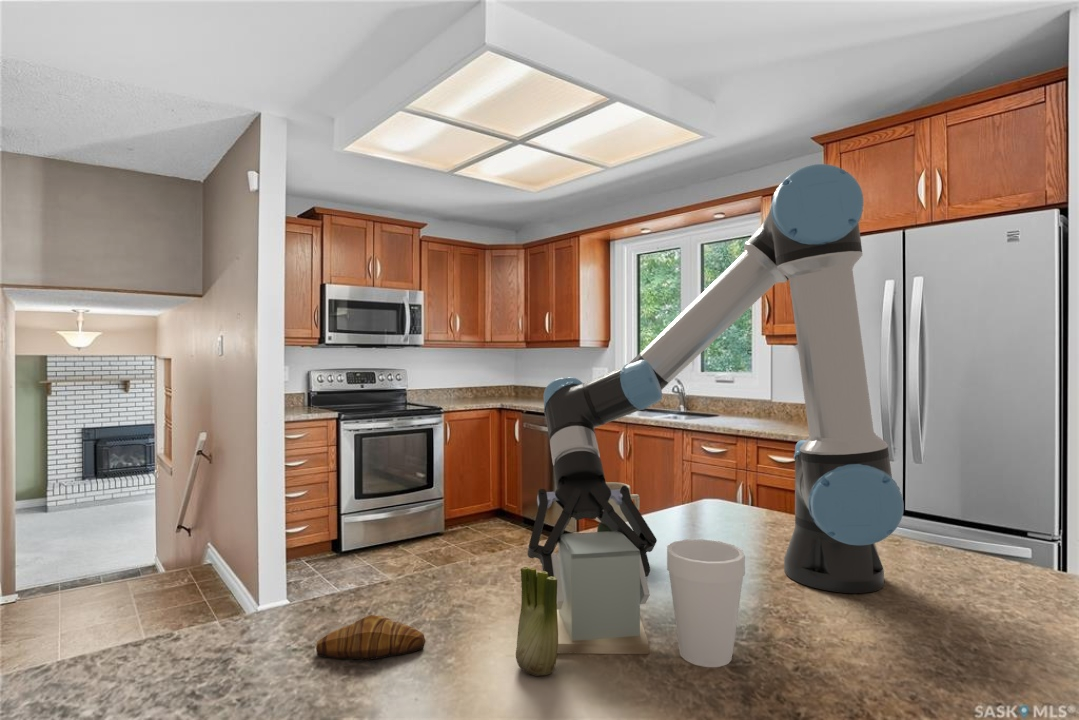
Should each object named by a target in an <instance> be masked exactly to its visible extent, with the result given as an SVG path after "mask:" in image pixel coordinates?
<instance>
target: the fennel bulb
mask: <svg viewBox="0 0 1079 720" xmlns="http://www.w3.org/2000/svg"><path fill="white" fill-rule="evenodd" d="M520 580H521V581H520V583H521V584H520V585H521V602H520V603H521V605H520V611H519V612H520V613H519V618H518V619H519V620H518V626H517V639H516V650H515V660H516V662H517V665H518V667H519V668H520V669H522V671H524V672H526V673H527V674H529V675H532V676H536V677H537V676H547V675H551V674H552V673H553V671H554V669H555V666H556V663H557V659H558V653H557V649H558V618H557V579H556V578H555V577H552V576H551V577H548V573H547V572H543V570H542V571H541V570H539V571H537V569H536V568H534V567H529V566H523V567H521V568H520Z"/></svg>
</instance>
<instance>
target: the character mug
mask: <svg viewBox="0 0 1079 720" xmlns="http://www.w3.org/2000/svg"><path fill="white" fill-rule="evenodd" d="M606 484H607V486H608V487H609V488H610V490H619V489H621V487H622V486H627V487H628V488H629V492H630V497H631V500H632V501H633V500H634V504H635V506H636V507H637V509H638V511H639V512H640V508H641V507H640V495H639V494H637V493H636V494H634V493H633V494H631V493H632V491H631V486H630V484H626V483H622V482H616V481H615V482H611V481H610V482H609V481H608V482H607V481H606ZM608 502H609V503H610V504H611V505H612V507H613V509H614V511H615V512H616V513H617V514H618V515H619V516H620V517H621V518H622V519H623V521H624V522H625V523H626V522H628V521H627V519H626V518H625V516H624V514H623V513H622V511H621V509H620V506H619V505H616V503H615V501H614V500H613V499H609V501H608ZM594 521H596V522H598V526H597V530H596V532H610V531H612V530H611V529H610V528H609V527H608V526H607V525H606V524H603V523H602V522H601V521H600V520H599V519H598V518H597V517H596V519H594Z"/></svg>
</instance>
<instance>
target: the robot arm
mask: <svg viewBox="0 0 1079 720" xmlns="http://www.w3.org/2000/svg"><path fill="white" fill-rule="evenodd" d="M863 211H864V195H863V190H862V188H861V186H860V183H859V182H858V181H857V179H856V177H854V176H853V175H852V174H851V173H850V172H848V171H847V170H845V169H842V167H839V166H836V165H833V164H827V163H821V164H820V163H817V164H810V165H806V166H804V167H801V168H799V169H797V170H795V171H794V172H792V173H790V174H789V175H788V176H787V177H786V178H784V180H783V181H781V183H779V185H778V186H777V188H776V189H775V191H774V193H773V196H772V198H771V205H770V208H769V211H768V213H767V215H766V217H765V219H764V221H763V222H762V223H761V224H760V226H759V228H757V230H756V231H755V232H754V234H753V235H751V237H750V238H749V239H748V240H747V241H746V242H744V243H743V244H744V246H743V252H742V254H740V256H739V257H738V258H737V259H736V260H735V261H734V262H732V263H731V265H729V266H728V267H727V268H726V269H725V270H724V271H723V272H722V273H721V274H720V275H719V276H718V277H717V278H716V279H715V280H714V281H713V282H711V284H710V285H708V287H707V288H705V289H704V291H702V293H700V294H699V295H698V296H697V297H696V298H695V299H694V300H693V301H692V302H691V303H690V304H689V305H688V306H687V307H686V308H685V309H684V310H683V311H682V312H681V313H680V314H679V315H678V316H677V317H676V318H674V319H673V320H672V321H671V323H670V324H668V325H667V326H666V327H665V328H664V329H663V330H662V331H661V332H660V333H659V334H658V335H657V336H656V337H655V338H654V339H653V340H652V341H651V342H650V343H649V344H647V346H646V347H645V348H644V349H643V350H642V351H641V352H639V354H637V355H636V356H635V357H634V358H633V359H632V360H631V361H629V363H627V364H623V366H621V367H618V368H617V369H614V370H612V371H610V372H608V373H606V374H603V375H601V376H598V377H597V378H594V379H593V380H590V381H587V382H583V381H581V380H580V379H578V378H576V377H572V376H568V377H566V378H563V377H560V378H556V379H554V380H552V381H551V382H550V383H549V384H548V385H547V386H546V387H545V389H544V391H543V413H544V417H545V422H546V423H545V424H546V428H547V432H548V434H547V435H548V440H549V441H548V442H549V447H550V453H551V460H552V461H551V462H552V465H553V467H552V469H553V475H554V481H555V488H556V489H555V491H547V490H546V489H545V488H540V489H538V491H537V496H536V497H537V498H536V505H537V513H536V517H535V521H534V524H533V529H532V531H531V535H530V540H529V544H528V549H527V556H528V558H529V559H535V558H536V559H538V560H539V562H540V564H541V566H542V568H541V569H542V571H543V572H547V573H548V577H551V576H552V577H555V578H556V579H557V610H560V609H561V608H562V605H563V602H564V599H563V591H562V584H561V577H560V570H559V563H558V552H556V553H555V552H554V551H555V549H556V547H557V546H558V541H559V537H560V535H561V534H564V532H565V531H566V528H567V526H568V525H569V523H570V521H571V520H572V518H573V519H574V520H575V521H578V520H583V519H588V520H595V519H596V517H597V518H598V519H599V520H600V521H601V522H602V523H603V524H606V525H607V526H608V527H609V528H610V529H611V530H612V531H618V532H621V533H623V534H624V535H625V536H626V537H627V538H628V539H629V540H630V541H631V542H632V543H633V544H634V545H635V546H636V547H637V548H638V549H639V550H640V605H644V604H646V603H647V601H648V599H649V597H651V596H650V595H651V593H650V590H649V585H648V581H647V578H648V577H649V575H650V571H651V567H650V563H649V558H648V554H647V553H651V552H653V550H654V548H655V546H656V544H657V541H658V539H657V537H656V536H655V534H654V532H653V531H652V529H651V528H650V526H649V524H648V523H647V521H646V520H645V519H644V516H642V514H641V512H640V510H639V511H638V509H637V507H636V506H635V502H634V501H633V499H632V500H631V497H630V492H629V488H628V487H627V486H622V487H621V489H619V490H610V488H609V487H608V486H607V484H606V482H607V481H606V477H605V472H604V467H603V464H602V463H603V462H602V459H601V454H600V449H599V445H598V440H597V437H596V436H597V435H596V432H595V428H598V427H600V426H604V425H606V424H607V423H610V422H613V421H615V420H618V419H621V418H624V417H627V416H629V415H631V414H633V413H636V412H639V411H641V410H642V411H643V410H646V409H648V408H650V407H651V406H652V405H655V404H658V403H659V402H660V401H661V400H662V399H663V392H662V391H663V390H664V388H666V386H667V385H669V384H670V382H671V381H673V380H674V379H675V378H676V377H677V376H678V375H679V374H680V373H682V371H683V370H685V369H686V368H687V367H688V366H689V365H690V363H692V362H693V361H694V360H695V359H696V358H697V357H699V355H700V354H701V353H703V352H704V351H705V350H706V349H707V348H709V346H710V345H711V344H713V342H715V341H716V340H717V339H718V337H719V338H720V336H721V335H722V334H723V333H724V332H725V331H726V330H728V328H729V327H731V326H732V325H733V324H734V323H735V322H736V321H737V320H738V319H739V318H740V317H741V316H742V315H744V314H745V313H746V312H747V311H748V310H749V309H750V308H751V307H752V306H753V305H754V304H756V302H758V301H759V299H760V298H762V297H763V296H764V295H765V294H766V293H767V292H768V291H770V289H772V288H773V286H775V284H779V283H780V284H781V283H782V284H783V283H787V282H788V281H789V289H790V296H791V303H792V304H791V305H792V310H793V313H792V314H793V320H794V327H795V329H794V330H795V334H796V344H797V350H798V357H799V359H798V360H799V368H800V374H801V381H802V388H803V389H802V391H803V397H804V405H805V412H806V413H805V414H806V421H807V428H808V438H807V439H801V440H798V441H797V443H796V444H795V447H794V448H795V449H794V455H793V460H794V474H795V475H794V479H795V480H794V515H795V516H794V520H795V521H794V529H793V532H792V535H791V538H790V541H789V544H788V546H787V549H786V552H785V554H784V558H783V561H784V562H783V571H784V573H785V575H786V576H787V577H788V578H790V579H792V580H793V581H794V582H797V583H799V584H802V585H804V586H808V587H811V588H814V589H819V590H822V591H829V592H833V593H843V594H865V593H873V592H877V591H879V590H881V589H882V588H883V587H884V585H885V570H884V567H883V564H882V561H881V558H880V554H879V552H878V549H877V547H876V543H879V542H881V541H883V540H885V539H887V538H888V537H889V536H890V535H892V534H893V533H894V532H895V531H896V529H897V528H898V527H899V525H900V524H901V522H902V519H903V515H904V509H905V507H904V505H905V504H904V500H903V498H904V497H903V494H902V493H901V490H900V486H898V484H897V482H896V480H894V478H893V475H892V468H891V466H892V465H891V460H890V453H889V445H888V443H887V442H886V441H885V440H883V438H881V437H879V436H878V435H877V434H876V433H875V430H874V423H873V417H872V416H873V415H872V408H871V400H870V393H869V385H868V379H867V378H868V377H867V370H866V362H865V361H866V360H865V356H864V355H865V354H864V346H863V341H862V333H861V331H862V330H861V325H860V317H859V308H858V301H857V295H856V294H857V293H856V285H855V278H854V270H853V269H854V266H856V265H855V264H857V263H858V261H859V260H860V259H861V258H862V257H863V249H862V247H863V246H862V241H861V240H862V239H861V232H860V225H859V222H860V220H861V218H862V215H863ZM609 499H613V500H614V501H615V503H616V505H619V506H620V509H621V511H622V513H623V514H624V516H625V518H626V519H627V522H628V523H626V522H624V521H623V519H622V518H621V517H620V516H619V515H618V514H617V513H616V512H615V511H614V509H613V507H612V505H611V504H610V503H609V502H608V501H609ZM553 502H555V503H556V504H557V505H558V506H559V507H560V508H561V509H562V511H561V513H560V515H559V517H558V519H557V521H556V523H555V524H554V526H553V528H552V530H551V532H550V533H549V536H547V537H548V538H547V539H546V541H545V543H544V545H540V539H541V536H542V531H543V527H544V523H545V521H546V520H545V519H546V515H547V510H548V509H549V508H551V507H552V503H553ZM553 552H554V553H553Z"/></svg>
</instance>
